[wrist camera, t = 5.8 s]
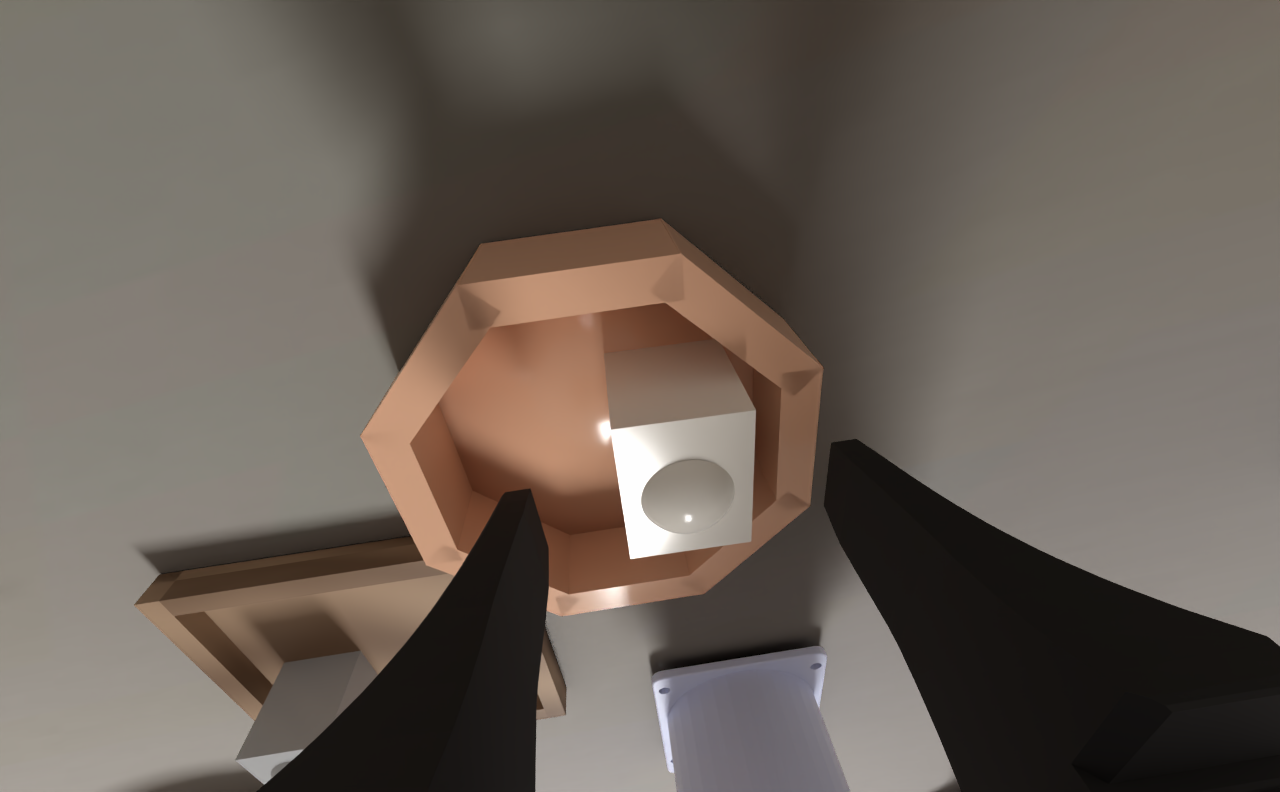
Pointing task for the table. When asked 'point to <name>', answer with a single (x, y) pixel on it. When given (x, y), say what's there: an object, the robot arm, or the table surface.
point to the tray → (307, 615)
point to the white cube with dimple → (302, 709)
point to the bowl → (582, 405)
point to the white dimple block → (681, 447)
